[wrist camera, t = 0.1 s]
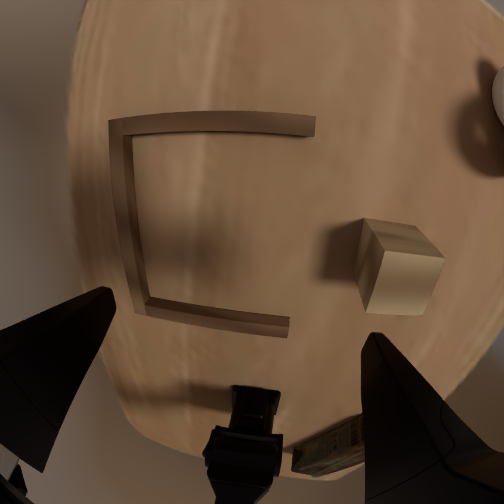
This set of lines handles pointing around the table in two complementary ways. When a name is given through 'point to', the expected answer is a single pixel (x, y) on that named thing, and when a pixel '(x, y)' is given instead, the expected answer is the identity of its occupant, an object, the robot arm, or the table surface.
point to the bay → (129, 221)
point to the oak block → (395, 268)
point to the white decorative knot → (499, 94)
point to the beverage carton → (331, 450)
